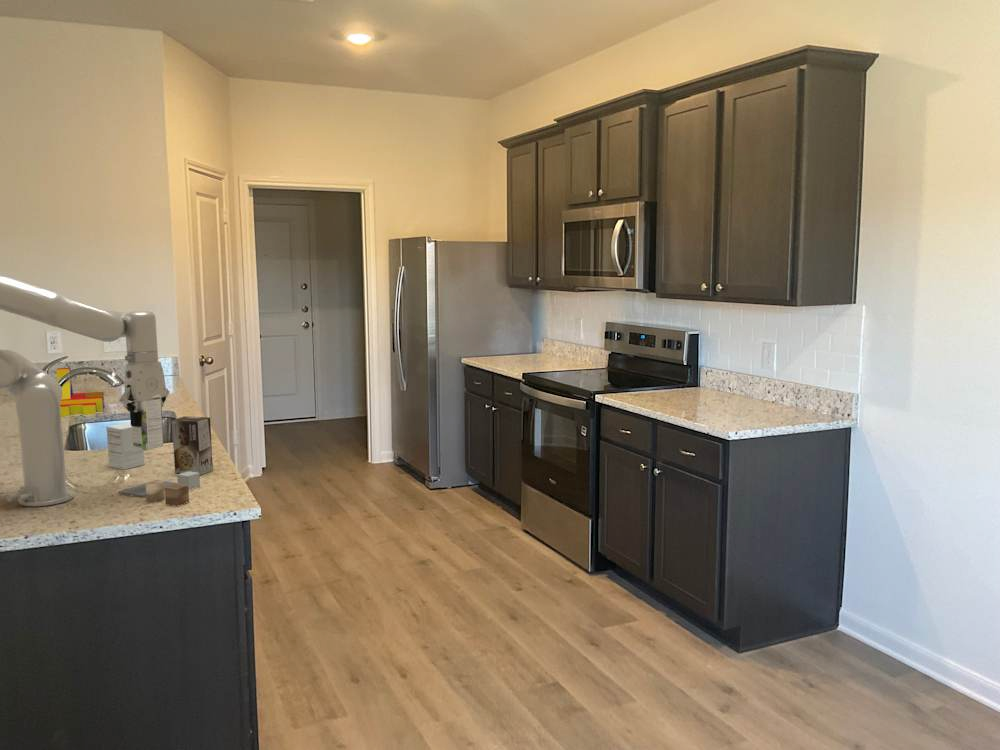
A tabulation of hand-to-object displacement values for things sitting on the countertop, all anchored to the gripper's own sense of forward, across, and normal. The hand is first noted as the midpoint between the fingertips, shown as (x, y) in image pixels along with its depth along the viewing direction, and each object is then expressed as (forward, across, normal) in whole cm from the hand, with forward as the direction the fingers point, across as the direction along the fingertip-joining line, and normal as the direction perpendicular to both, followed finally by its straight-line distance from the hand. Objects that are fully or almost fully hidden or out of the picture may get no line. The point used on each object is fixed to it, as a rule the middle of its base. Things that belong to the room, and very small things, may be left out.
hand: (146, 423), depth 219 cm
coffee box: (+19, +19, +4) cm, 27 cm away
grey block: (+19, +6, -8) cm, 21 cm away
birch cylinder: (+18, -7, -9) cm, 22 cm away
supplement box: (+19, +16, +28) cm, 37 cm away
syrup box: (+7, 0, 0) cm, 7 cm away
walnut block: (+18, -7, -16) cm, 26 cm away
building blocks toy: (+19, +75, +121) cm, 144 cm away
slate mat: (+18, 0, 0) cm, 18 cm away
